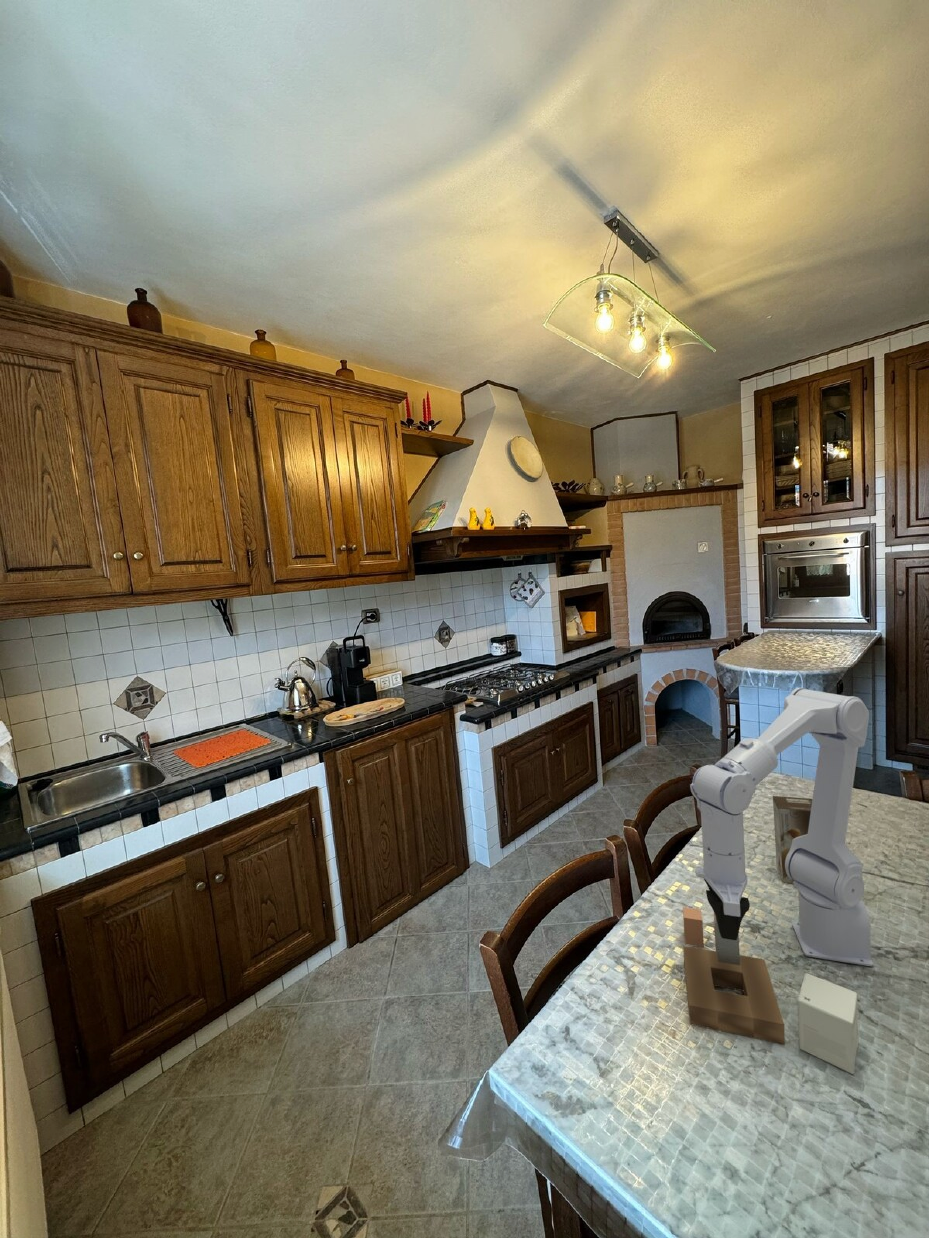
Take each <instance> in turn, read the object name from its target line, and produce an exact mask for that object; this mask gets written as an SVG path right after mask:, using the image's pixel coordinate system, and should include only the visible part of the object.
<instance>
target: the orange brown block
mask: <svg viewBox="0 0 929 1238" xmlns="http://www.w3.org/2000/svg"><path fill="white" fill-rule="evenodd" d="M682 918H683V919H682V921H683V934H684V944H685V945H688V946H694V947H698V948H700V947H701V948H705V942H704V926H703V925H704V923H703V915H702V909H700V908H695V907H687V906H682Z"/></svg>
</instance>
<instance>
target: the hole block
mask: <svg viewBox="0 0 929 1238" xmlns="http://www.w3.org/2000/svg"><path fill="white" fill-rule="evenodd" d="M682 948H683V949H682V950H683V964H684V973H685V974H684V975H685V977H684V978H685V985H686V994H687V1004H688V1005H687V1006H688V1016H689V1024H690V1025H692V1024H693V1026H697V1025H698V1027H702V1026H703V1027H702V1028H706V1027H708V1028H707V1029H711V1028H712V1029H711V1030H715V1031H720V1030H721V1031H722V1032H725V1033H731V1034H735V1035H740V1036H744V1037H748V1038H749V1037H750V1038H753V1039H758V1040H763V1041H767V1042H773V1043H777V1044H781V1045H785V1044H786V1037H785V1035H786V1034H785V1023H784V1020H783V1016H782V1013H781V1010H780V1006H779V1003H778V999H777V996H776V993H775V990H774V986H773V983H772V979H771V976H770V974H769V970H768V966H767V963H766V960H765V959H764V958H760V957H759V958H758V957H753V956H747V955H740V966H739V965H734V964H728V963H722V962H718V959H717V953H716V950H710V949H705V948H700V947H692V946H686V945H683V946H682ZM714 986H717V987H723V988H727V989H734V990H737V991H738V990H740V991H743V994H738V993H734V992H728V991H723V990H717V989H715V987H714Z"/></svg>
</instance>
